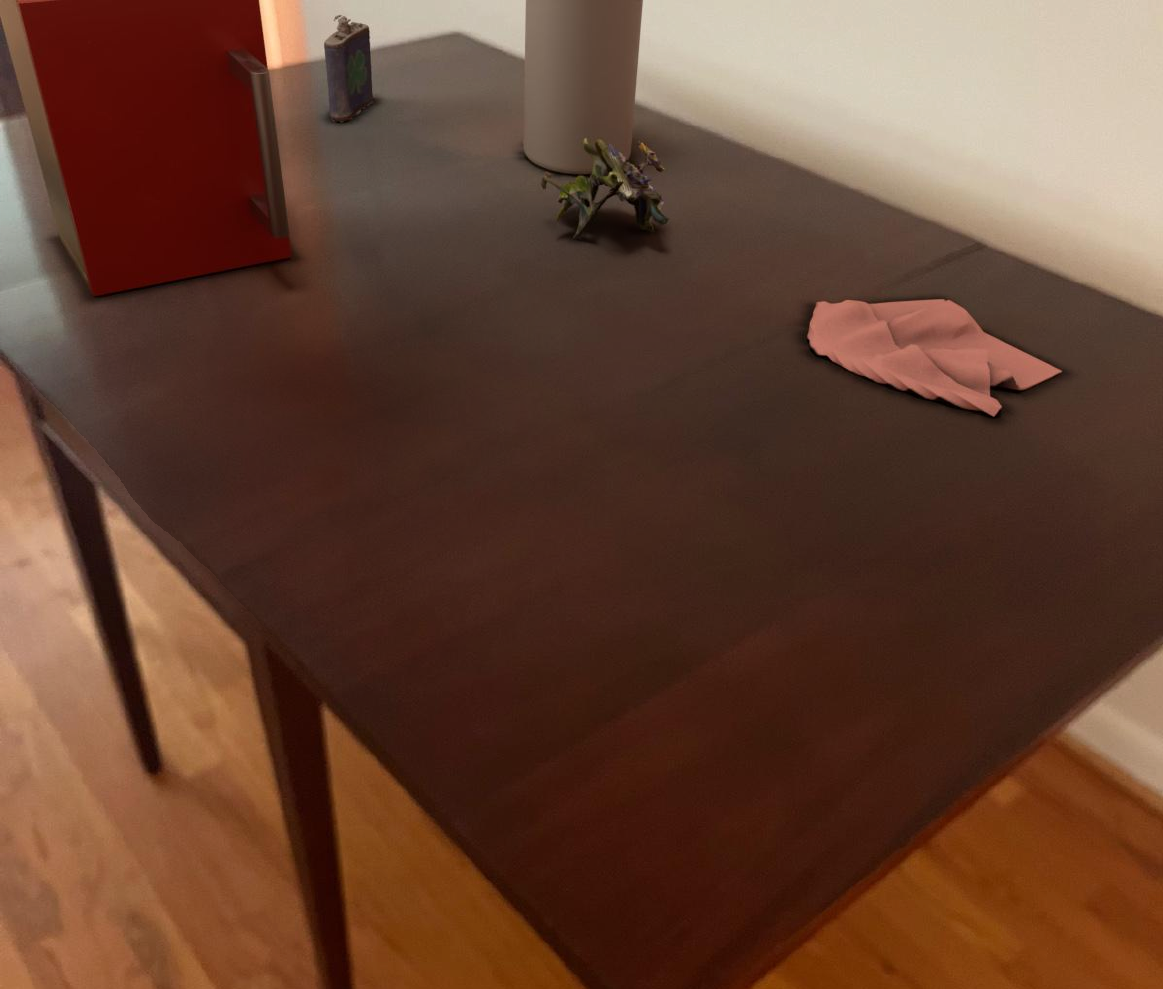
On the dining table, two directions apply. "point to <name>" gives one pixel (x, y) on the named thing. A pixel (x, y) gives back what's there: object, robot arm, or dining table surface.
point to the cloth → (923, 350)
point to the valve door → (161, 135)
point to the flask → (348, 69)
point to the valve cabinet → (40, 130)
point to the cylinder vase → (579, 79)
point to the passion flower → (613, 186)
